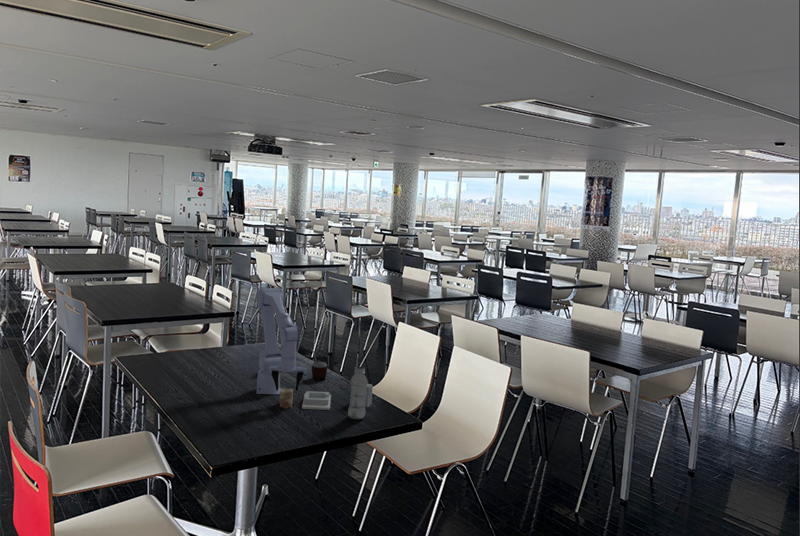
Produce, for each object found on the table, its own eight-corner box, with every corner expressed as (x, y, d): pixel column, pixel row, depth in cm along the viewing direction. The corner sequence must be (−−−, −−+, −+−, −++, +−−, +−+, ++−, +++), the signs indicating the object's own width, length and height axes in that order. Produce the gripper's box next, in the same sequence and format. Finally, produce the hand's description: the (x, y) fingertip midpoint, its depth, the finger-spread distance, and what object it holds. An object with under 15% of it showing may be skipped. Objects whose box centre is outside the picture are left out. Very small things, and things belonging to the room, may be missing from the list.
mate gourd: (328, 377, 276) (329, 346, 274) (324, 382, 268) (326, 350, 266) (312, 376, 277) (314, 344, 275) (308, 381, 269) (309, 349, 267)
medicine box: (371, 404, 245) (373, 384, 244) (367, 408, 241) (369, 387, 240) (354, 401, 248) (355, 381, 247) (349, 404, 244) (351, 384, 243)
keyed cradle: (301, 408, 235) (302, 401, 235) (304, 395, 250) (305, 388, 249) (329, 409, 236) (330, 402, 236) (330, 396, 251) (331, 390, 250)
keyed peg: (279, 408, 234) (280, 393, 233) (281, 402, 240) (281, 388, 239) (290, 408, 234) (291, 394, 234) (292, 403, 240) (293, 389, 240)
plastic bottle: (347, 414, 232) (350, 365, 230) (364, 415, 233) (368, 366, 231) (347, 421, 226) (350, 370, 224) (365, 421, 227) (368, 371, 224)
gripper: (268, 358, 231) (267, 392, 232) (306, 360, 232) (304, 393, 234) (271, 353, 238) (269, 386, 239) (307, 355, 239) (305, 388, 241)
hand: (286, 389), depth 237 cm, fingers open, 7 cm apart
